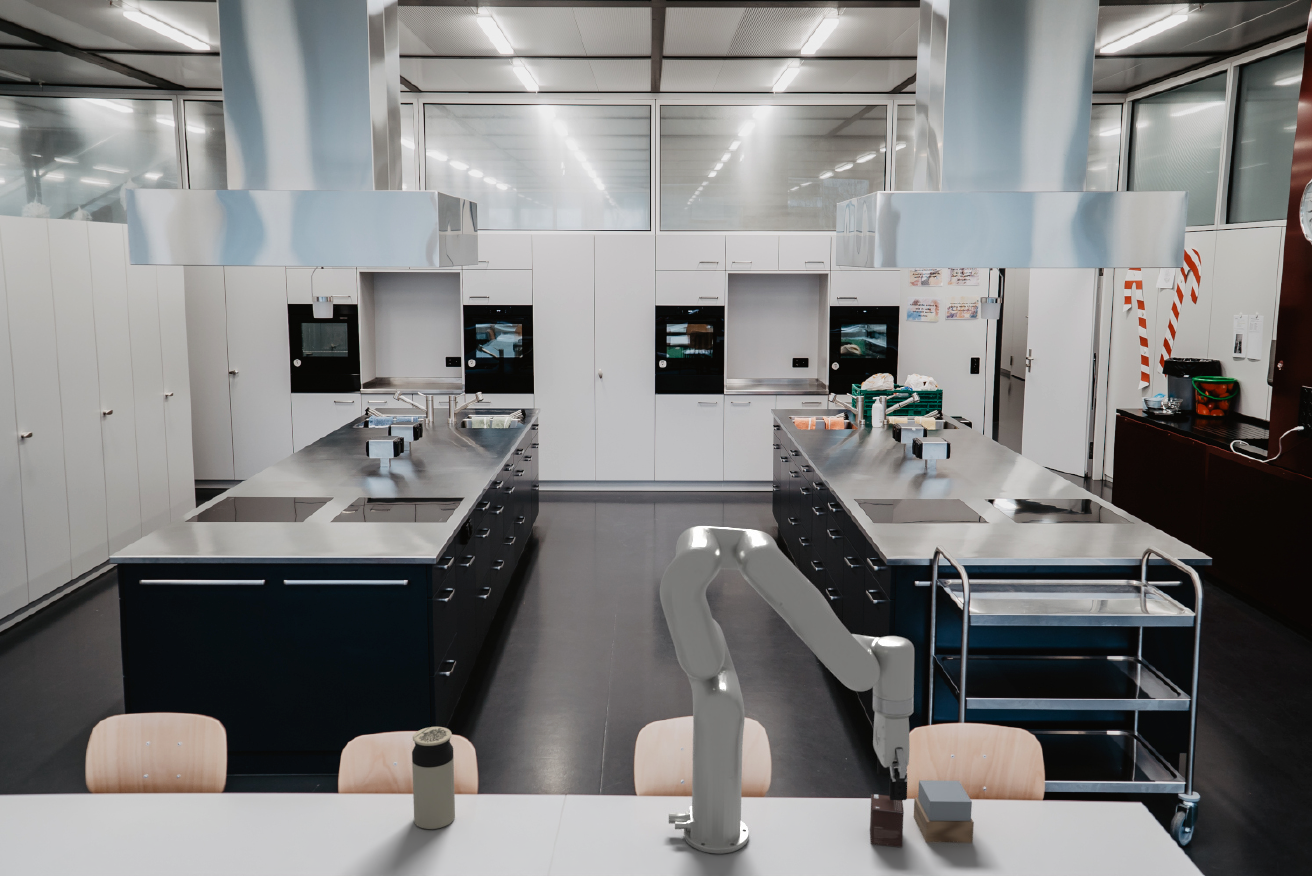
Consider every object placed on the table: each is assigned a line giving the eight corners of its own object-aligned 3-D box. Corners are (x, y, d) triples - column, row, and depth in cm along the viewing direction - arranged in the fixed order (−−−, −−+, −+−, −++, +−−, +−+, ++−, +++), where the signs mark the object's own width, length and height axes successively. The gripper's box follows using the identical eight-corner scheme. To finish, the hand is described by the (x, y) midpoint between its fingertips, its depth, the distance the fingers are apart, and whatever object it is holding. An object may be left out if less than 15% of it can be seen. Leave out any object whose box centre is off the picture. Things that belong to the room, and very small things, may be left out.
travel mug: (463, 816, 191) (461, 732, 189) (434, 834, 185) (431, 747, 182) (434, 804, 195) (432, 722, 193) (405, 822, 189) (402, 737, 186)
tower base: (925, 843, 183) (926, 821, 183) (913, 817, 192) (914, 797, 192) (972, 843, 183) (973, 822, 183) (957, 818, 192) (959, 797, 192)
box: (902, 848, 181) (904, 812, 180) (870, 844, 182) (871, 809, 181) (900, 831, 187) (902, 796, 186) (869, 827, 188) (871, 793, 187)
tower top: (929, 820, 183) (930, 801, 183) (918, 798, 191) (919, 780, 191) (970, 820, 183) (971, 801, 183) (957, 799, 191) (958, 780, 190)
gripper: (863, 684, 189) (862, 764, 192) (883, 722, 172) (882, 810, 175) (901, 683, 189) (900, 763, 192) (925, 721, 172) (923, 809, 175)
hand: (891, 786), depth 183 cm, fingers open, 9 cm apart
